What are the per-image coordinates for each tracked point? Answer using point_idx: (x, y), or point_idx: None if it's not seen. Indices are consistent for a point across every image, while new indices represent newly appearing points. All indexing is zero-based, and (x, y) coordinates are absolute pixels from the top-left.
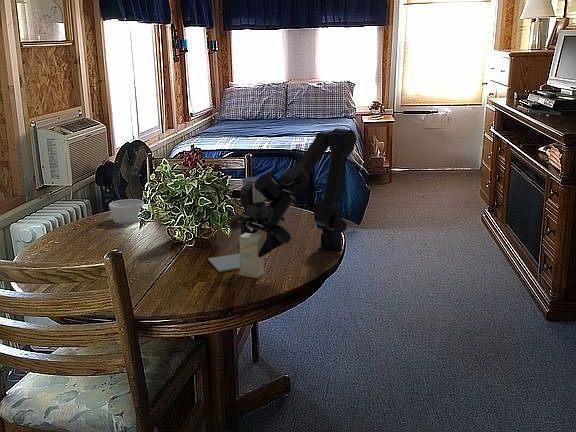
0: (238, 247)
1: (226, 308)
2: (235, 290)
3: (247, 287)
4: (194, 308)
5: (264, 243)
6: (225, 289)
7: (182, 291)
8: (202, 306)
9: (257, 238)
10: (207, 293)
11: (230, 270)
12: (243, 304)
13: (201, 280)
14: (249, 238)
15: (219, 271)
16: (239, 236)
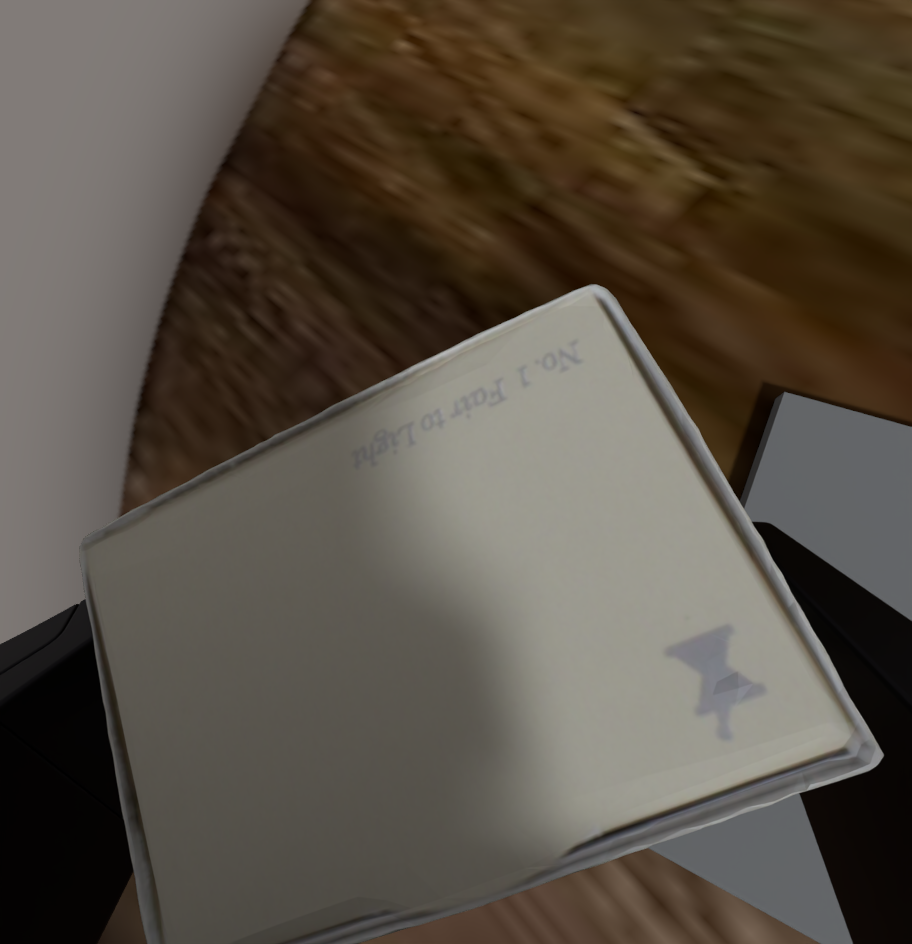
0: (756, 525)
1: (238, 132)
2: (375, 292)
3: (351, 378)
4: (364, 10)
5: (74, 636)
6: (437, 253)
7: (626, 33)
8: (351, 49)
9: (101, 563)
10: (474, 139)
11: (741, 501)
12: (203, 221)
13: (717, 207)
14: (290, 435)
15: (777, 398)
16: (593, 285)
